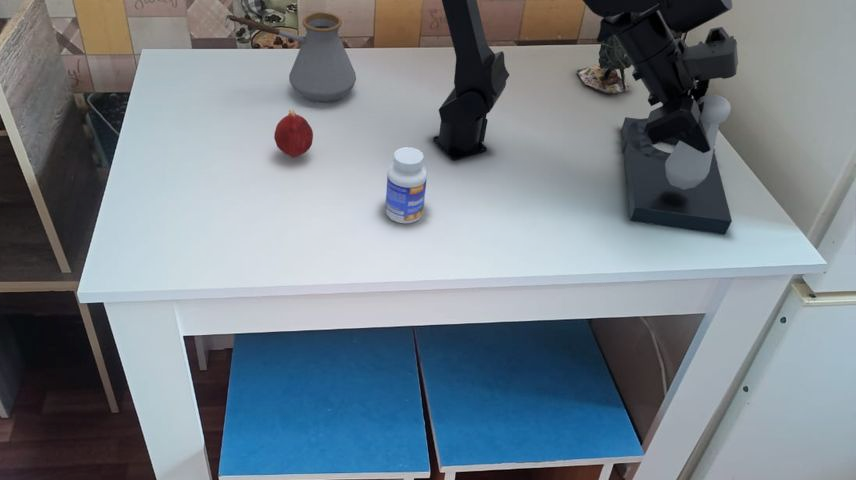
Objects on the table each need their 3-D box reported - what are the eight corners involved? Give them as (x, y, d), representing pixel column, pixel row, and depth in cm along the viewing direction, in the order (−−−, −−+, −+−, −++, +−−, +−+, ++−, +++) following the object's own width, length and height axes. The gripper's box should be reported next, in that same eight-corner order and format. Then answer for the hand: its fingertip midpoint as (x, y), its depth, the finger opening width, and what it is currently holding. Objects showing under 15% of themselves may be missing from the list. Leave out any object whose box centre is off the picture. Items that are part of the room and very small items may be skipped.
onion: (319, 151, 114) (319, 106, 109) (302, 171, 111) (301, 125, 105) (287, 142, 116) (284, 97, 110) (269, 161, 112) (265, 115, 107)
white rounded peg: (695, 198, 101) (732, 117, 92) (654, 183, 103) (687, 102, 94) (707, 178, 105) (744, 98, 95) (667, 163, 107) (700, 83, 98)
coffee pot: (348, 73, 132) (349, -10, 121) (362, 106, 124) (365, 21, 114) (229, 83, 128) (220, -1, 118) (236, 118, 121) (226, 31, 110)
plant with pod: (592, 102, 127) (624, -12, 113) (572, 70, 135) (600, -41, 121) (637, 101, 127) (675, -13, 113) (614, 69, 135) (647, -41, 121)
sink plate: (726, 234, 102) (733, 221, 101) (628, 220, 104) (634, 207, 102) (702, 136, 120) (708, 123, 118) (619, 125, 122) (623, 112, 120)
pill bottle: (411, 229, 101) (417, 172, 95) (377, 215, 103) (381, 158, 97) (429, 209, 105) (436, 152, 98) (396, 195, 107) (401, 139, 100)
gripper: (706, 49, 83) (767, 156, 87) (721, -12, 95) (774, 85, 100) (616, 94, 90) (677, 190, 95) (641, 32, 103) (694, 120, 107)
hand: (708, 144), depth 99 cm, fingers closed on white rounded peg, 3 cm apart
